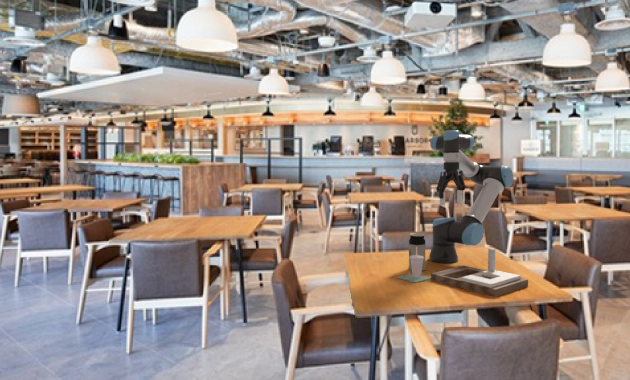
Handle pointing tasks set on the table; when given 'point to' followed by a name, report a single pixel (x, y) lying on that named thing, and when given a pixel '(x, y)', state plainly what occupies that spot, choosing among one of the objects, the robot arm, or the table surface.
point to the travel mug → (418, 242)
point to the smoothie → (416, 265)
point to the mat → (414, 280)
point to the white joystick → (492, 274)
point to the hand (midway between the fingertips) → (451, 204)
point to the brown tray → (451, 274)
